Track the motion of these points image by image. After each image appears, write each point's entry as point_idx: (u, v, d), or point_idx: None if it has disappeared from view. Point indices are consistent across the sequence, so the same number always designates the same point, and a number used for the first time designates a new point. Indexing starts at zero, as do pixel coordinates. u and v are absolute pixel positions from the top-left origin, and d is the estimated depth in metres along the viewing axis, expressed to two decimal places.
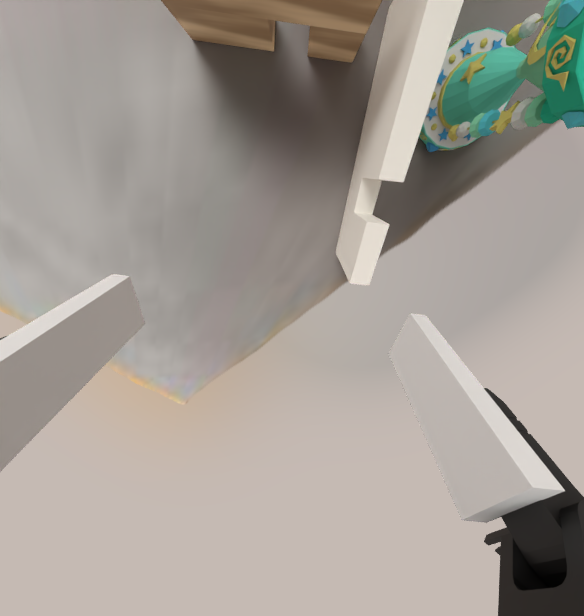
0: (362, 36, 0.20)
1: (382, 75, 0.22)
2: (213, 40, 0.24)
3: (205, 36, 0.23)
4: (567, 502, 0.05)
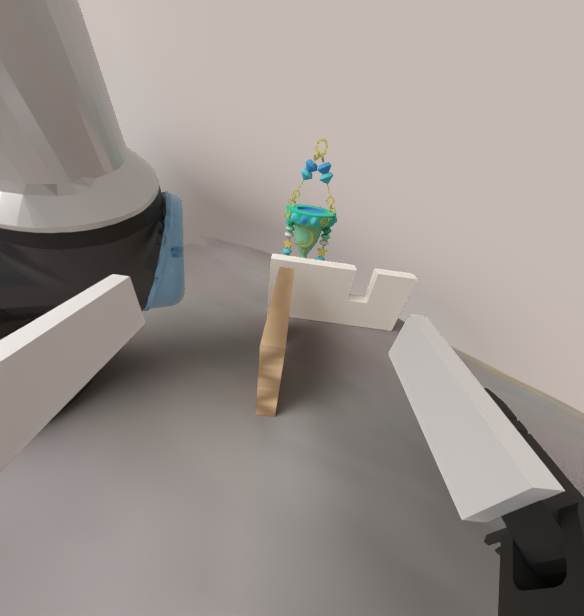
0: None
1: (299, 301, 0.42)
2: None
3: None
4: (567, 502, 0.05)
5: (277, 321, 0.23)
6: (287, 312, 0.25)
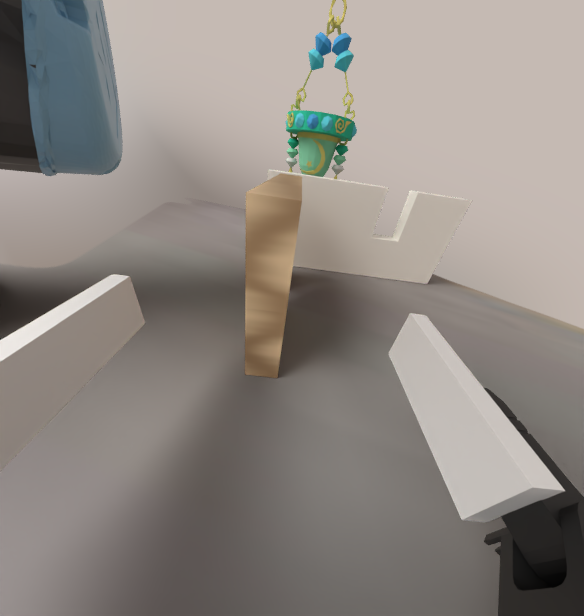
0: None
1: (306, 240, 0.31)
2: None
3: None
4: (567, 502, 0.05)
5: (281, 187, 0.12)
6: (298, 186, 0.14)
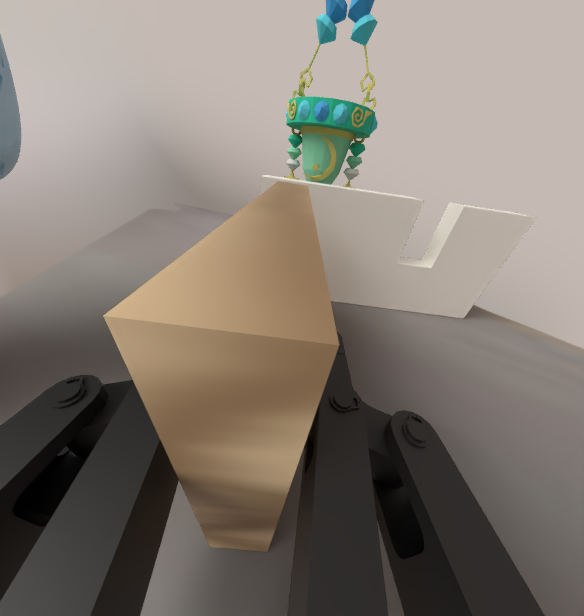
0: None
1: None
2: None
3: None
4: None
5: (270, 231, 0.05)
6: (307, 219, 0.07)
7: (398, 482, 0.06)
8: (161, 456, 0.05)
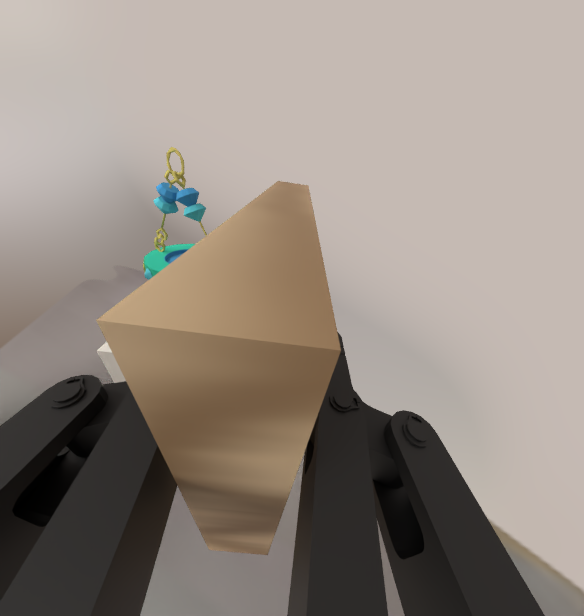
0: None
1: None
2: None
3: None
4: None
5: (270, 231, 0.05)
6: (307, 219, 0.07)
7: (398, 482, 0.06)
8: (161, 456, 0.05)
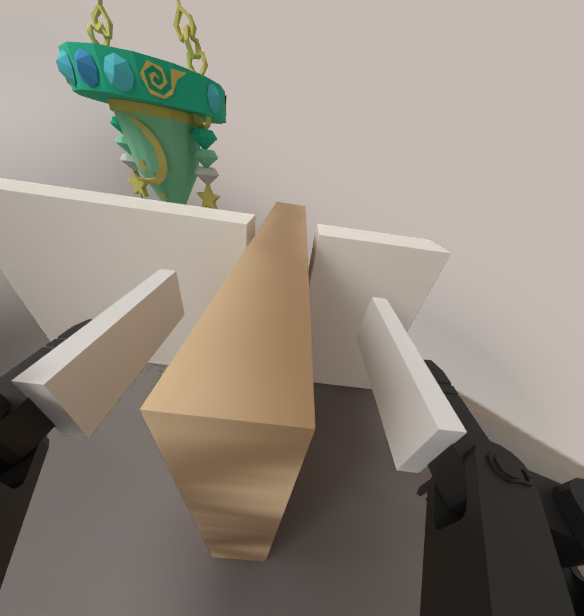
0: None
1: None
2: None
3: None
4: None
5: (267, 287, 0.06)
6: (301, 264, 0.08)
7: (564, 559, 0.05)
8: None
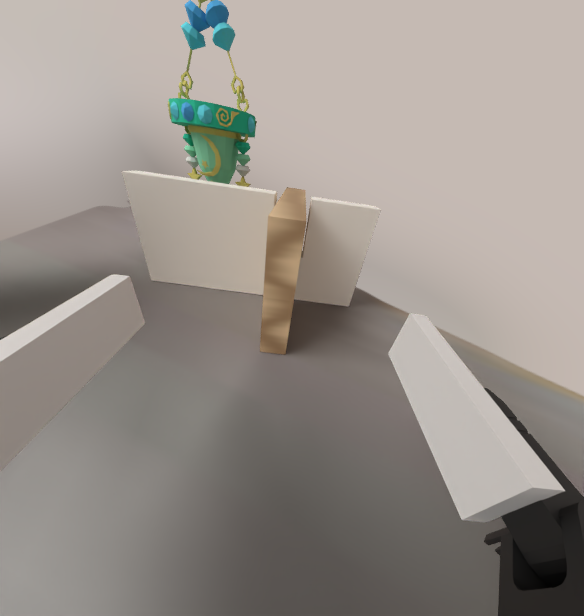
0: None
1: (194, 256, 0.26)
2: None
3: None
4: (567, 502, 0.05)
5: (290, 208, 0.17)
6: (302, 205, 0.18)
7: None
8: None
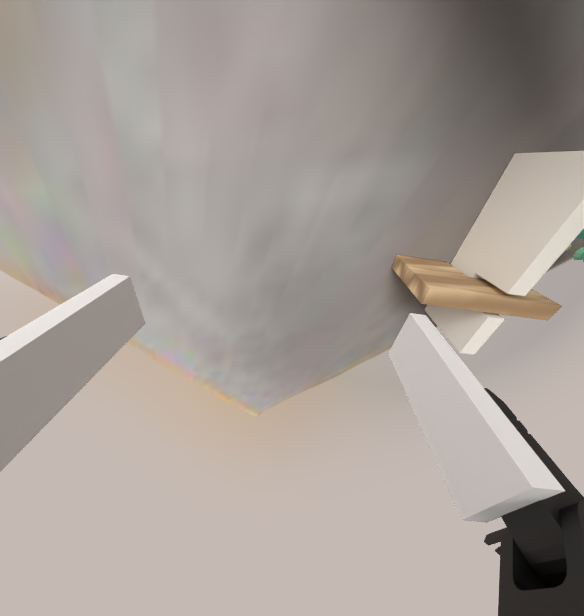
0: None
1: (507, 207, 0.29)
2: None
3: None
4: (567, 502, 0.05)
5: (453, 299, 0.29)
6: (463, 307, 0.29)
7: None
8: None
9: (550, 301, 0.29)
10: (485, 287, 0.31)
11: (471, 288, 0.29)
